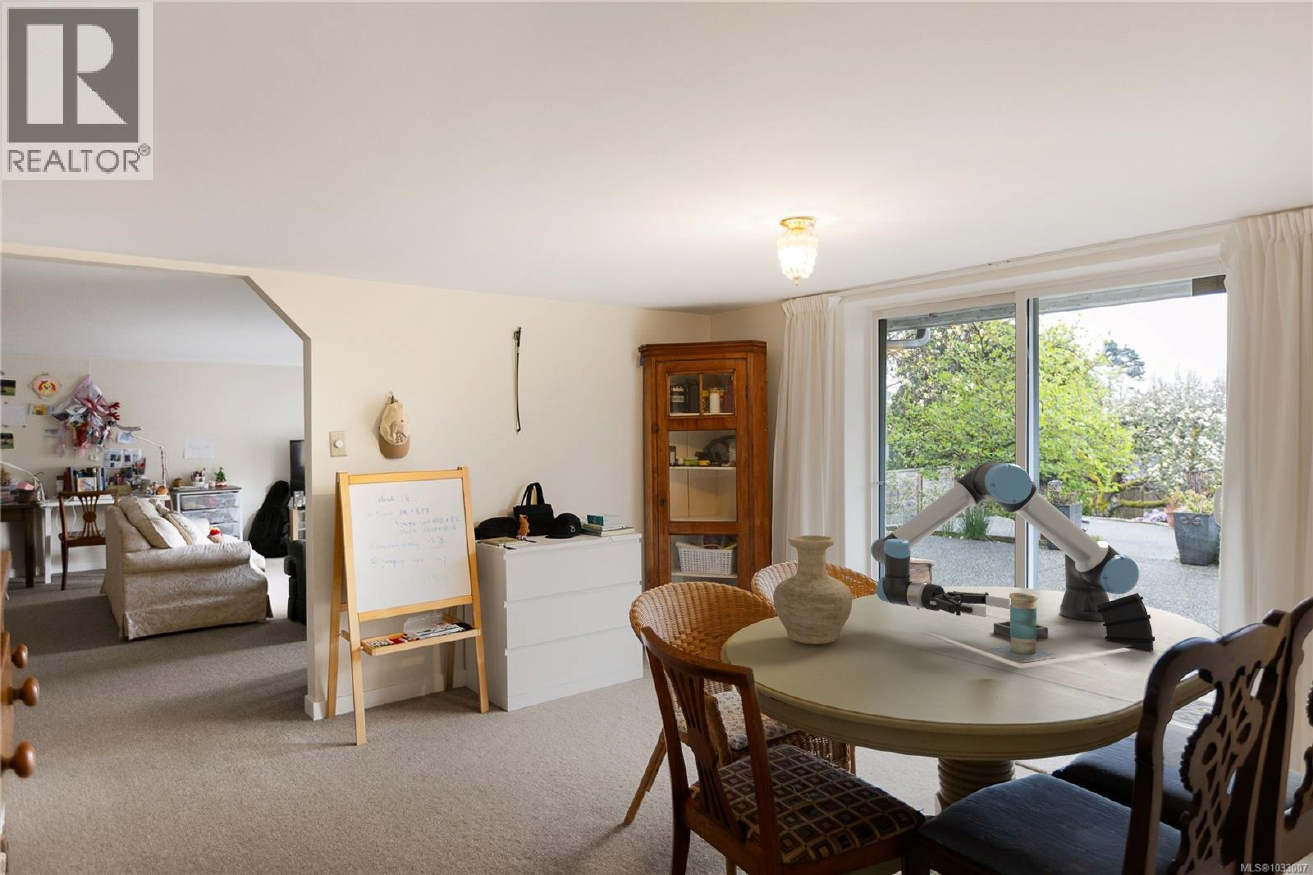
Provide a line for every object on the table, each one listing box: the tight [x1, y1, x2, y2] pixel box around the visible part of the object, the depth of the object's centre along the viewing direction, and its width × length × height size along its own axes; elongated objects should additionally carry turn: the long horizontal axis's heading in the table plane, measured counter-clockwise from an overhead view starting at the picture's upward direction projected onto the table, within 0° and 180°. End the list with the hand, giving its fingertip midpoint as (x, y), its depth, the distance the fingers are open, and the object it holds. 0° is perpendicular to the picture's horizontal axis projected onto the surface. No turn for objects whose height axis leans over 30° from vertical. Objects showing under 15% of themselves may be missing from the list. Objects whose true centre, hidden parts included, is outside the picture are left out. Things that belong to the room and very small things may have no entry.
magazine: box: [1097, 592, 1156, 653], centre depth 215 cm, size 4×13×15 cm, turn 39°
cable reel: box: [1008, 592, 1038, 655], centre depth 209 cm, size 7×7×15 cm
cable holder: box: [988, 620, 1054, 642], centre depth 224 cm, size 12×12×4 cm
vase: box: [772, 534, 853, 645], centre depth 226 cm, size 22×22×30 cm
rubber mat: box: [992, 645, 1057, 664], centre depth 209 cm, size 11×11×1 cm
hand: (997, 607), depth 214 cm, fingers open, 13 cm apart
